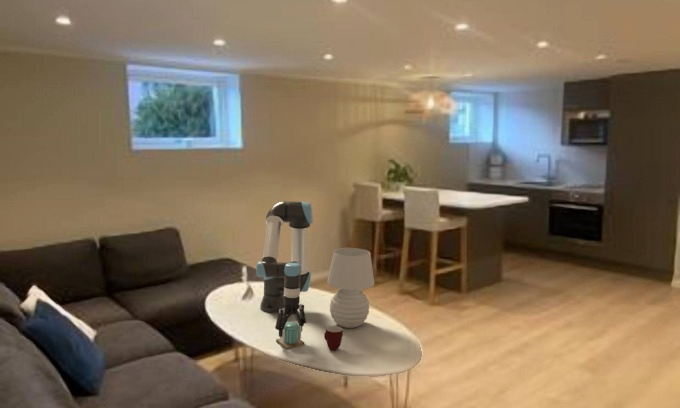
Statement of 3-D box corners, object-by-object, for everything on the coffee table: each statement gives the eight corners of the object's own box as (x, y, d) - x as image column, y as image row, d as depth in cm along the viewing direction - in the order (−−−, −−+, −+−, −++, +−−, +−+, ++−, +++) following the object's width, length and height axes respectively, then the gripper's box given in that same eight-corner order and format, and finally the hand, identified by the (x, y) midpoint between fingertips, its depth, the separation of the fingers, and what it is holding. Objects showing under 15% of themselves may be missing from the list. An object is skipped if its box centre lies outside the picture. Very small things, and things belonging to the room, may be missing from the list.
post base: (293, 337, 256) (294, 324, 255) (304, 344, 248) (304, 331, 247) (276, 341, 250) (276, 328, 249) (286, 349, 242) (286, 335, 241)
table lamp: (378, 321, 284) (382, 250, 278) (361, 337, 261) (365, 260, 255) (337, 313, 294) (340, 244, 289) (317, 327, 271) (320, 253, 266)
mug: (317, 347, 246) (318, 327, 244) (328, 342, 252) (329, 323, 250) (334, 354, 239) (335, 333, 238) (345, 349, 245) (346, 329, 244)
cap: (292, 336, 254) (293, 321, 253) (300, 341, 248) (300, 326, 247) (280, 339, 250) (280, 324, 249) (287, 344, 244) (288, 328, 243)
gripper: (305, 289, 256) (303, 333, 259) (268, 297, 242) (267, 343, 244) (314, 293, 250) (313, 337, 253) (277, 301, 236) (275, 348, 239)
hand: (290, 340), depth 249 cm, fingers open, 9 cm apart
